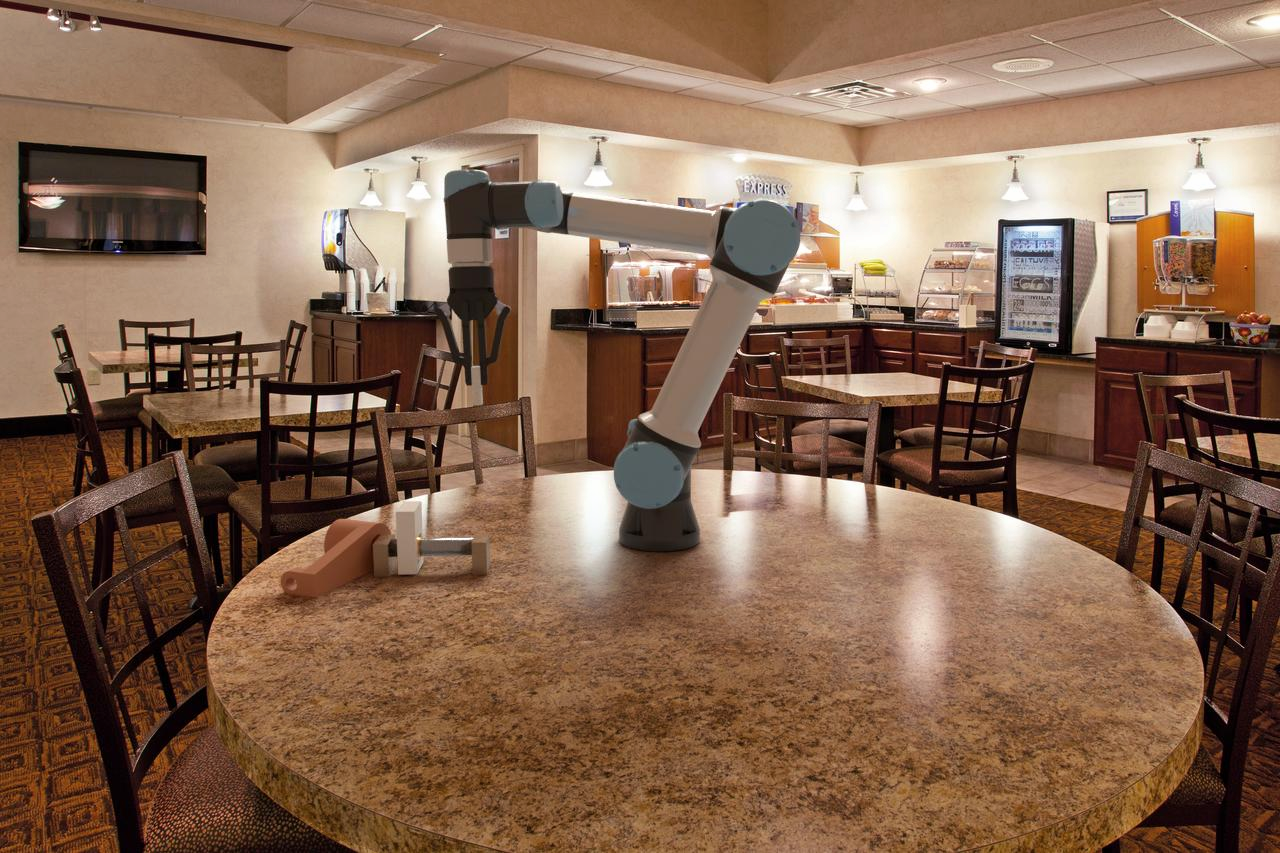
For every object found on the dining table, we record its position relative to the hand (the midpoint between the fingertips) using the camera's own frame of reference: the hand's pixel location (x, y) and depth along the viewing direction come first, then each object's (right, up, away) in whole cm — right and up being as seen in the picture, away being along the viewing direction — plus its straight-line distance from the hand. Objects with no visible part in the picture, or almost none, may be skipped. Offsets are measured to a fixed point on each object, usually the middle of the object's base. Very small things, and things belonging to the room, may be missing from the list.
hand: (477, 404), depth 161 cm
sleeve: (-11, -28, -4) cm, 30 cm away
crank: (-22, -29, -6) cm, 37 cm away
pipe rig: (-7, -28, -4) cm, 29 cm away
